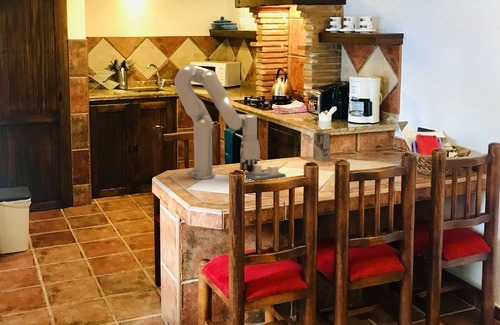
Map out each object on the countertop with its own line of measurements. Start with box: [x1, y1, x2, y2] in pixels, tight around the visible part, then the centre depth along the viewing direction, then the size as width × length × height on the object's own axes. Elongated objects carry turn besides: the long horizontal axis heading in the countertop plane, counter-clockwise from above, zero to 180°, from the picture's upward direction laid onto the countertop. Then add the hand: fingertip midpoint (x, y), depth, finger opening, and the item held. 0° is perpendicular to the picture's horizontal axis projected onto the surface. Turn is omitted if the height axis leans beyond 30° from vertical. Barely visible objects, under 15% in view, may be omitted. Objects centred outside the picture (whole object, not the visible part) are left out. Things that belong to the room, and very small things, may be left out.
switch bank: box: [244, 168, 287, 182], centre depth 353 cm, size 20×14×2 cm
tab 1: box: [251, 163, 263, 174], centre depth 354 cm, size 4×4×4 cm
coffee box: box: [312, 131, 332, 162], centre depth 395 cm, size 9×6×16 cm
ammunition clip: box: [239, 159, 258, 172], centre depth 367 cm, size 11×2×12 cm, turn 123°
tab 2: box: [267, 164, 279, 175], centre depth 352 cm, size 4×4×4 cm
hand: (250, 171), depth 352 cm, fingers closed
